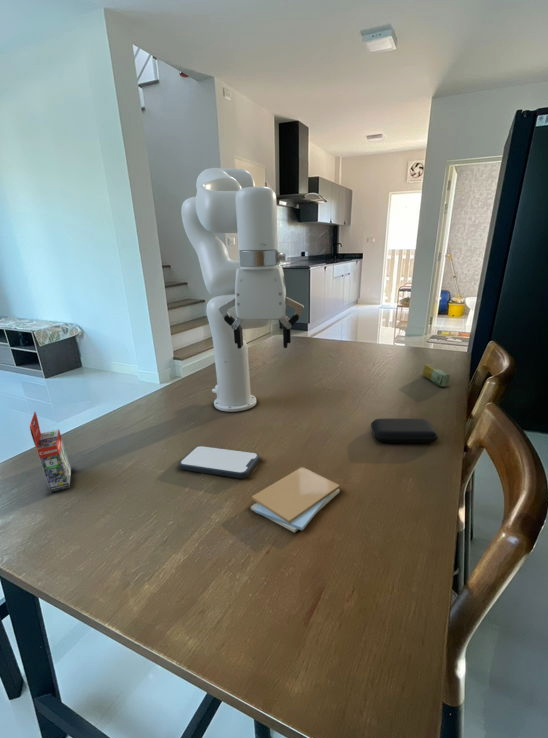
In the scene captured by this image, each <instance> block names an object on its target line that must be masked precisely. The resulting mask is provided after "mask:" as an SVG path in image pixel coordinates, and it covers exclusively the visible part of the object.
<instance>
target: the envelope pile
mask: <svg viewBox="0 0 548 738" xmlns="http://www.w3.org/2000/svg"><path fill="white" fill-rule="evenodd" d="M340 487H341V485H340V484H338V483H336V482H335V481H332V480H330V479H328V478H326V477H324V476H323V475H320V474H318V473H316V472H313V471H311V470H310V469H308V468H307V467H303V466H301V467H299V468H298V469H296V470H294V471H292V472H291V473H289V474H287V475H286V476H284V477H282V478H281V479H279V480H277V481H275V482H274V483H273V484H271V485H269V486H267V487H266V488H263V489H262V490H260V491H259V492H257V493H255V494H254V495H252V496H251V500H252V501H254V502H255V503H254V504H253V505H250V510H251V511H253V512H254V513H255V514H258V515H261V516H262V517H264V518H266V519H268V520H270V521H272V522H274V523H275V524H278V525H280V526H281V527H283V528H285V529H287V530H288V531H291V532H293V533H294V534H295V533H296V532H298V531H304V529H305V528H306V527H307V526H308V524H309V523H310V522H311V520H312V519H313V518H314V517H315V516H316V515H317V514H318V513H319V512H320V511H321V510H322V509H323V508H324V507H325V506H326V505H327V504H328V503H330V501H331V500H332V499H334V498H335V497H336V496H337V495H338V494H340V492H341V490H340Z"/></svg>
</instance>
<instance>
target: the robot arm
mask: <svg viewBox="0 0 548 738" xmlns="http://www.w3.org/2000/svg"><path fill="white" fill-rule="evenodd" d="M195 187H196V195H195V196H192V197H189V198H187V199H185V200H184V201H183V202H182V204H181V209H180V210H181V213H180V214H181V221H182V226H183V229H184V231H185V234H186V236H187V238H188V241H189V243H190V244H191V246H192V248H193V249H194V251H195V253H196V255H197V258H198V262H199V266H200V270H201V274H202V279H203V282H204V285H205V288H206V291H207V292H208V293H209V295H211V296H214V297H212V298H211V299H209V301H208V302H207V304H206V308H205V311H206V317H207V321H208V324H209V330H210V333H211V339H212V345H213V354H214V365H215V375H216V384H215V386H214V388H212V389H211V393H213V394H216V398H215V399H214V400H213V406H214V408H215V409H217V410H218V411H221V412H227V413H234V412H235V413H236V412H244V411H246V410H249V409H252V408H254V406H256V405H257V398H256V396H255V395H254V394H252V393H251V379H250V378H251V377H250V366H249V365H250V363H249V349H248V344H247V342H246V340H245V339H244V335H243V334H244V333H243V330H250V329H258V328H259V329H261V328H264V327H266V326H268V325H269V323H270V322H271V321H277V320H278V321H279V322H280V323H281V324H282V325H283V328H282V341H283V348H284V349H288V345H289V344H291V343H292V333H291V332H292V331H291V330H292V329H291V328H292V327H293V326H294V325H295V324H296V323H297V322H298V321H299V319H300V317H301V315H302V313H303V311H304V308H305V306H304V305H303V304H301V303H299V302H298V301H296V300H294V299H292V298H290V297H288V296H287V289H286V280H285V273H284V268H283V267H281V266H279V264H280V263H281V262H285V261H286V253H282V252H280V251H279V246H278V245H279V242H278V211H277V210H278V207H277V205H278V203H277V195H276V193H275V191H274V190H273V189H272V188H270V187H267V186H256V182H255V179H254V177H253V175H252V174H251V173H250V172H249V171H248V170H246V169H243V168H229V167H228V168H225V167H210V168H206V169H204V170H203V171H201V172H200V173H199V175H198V176H197V179H196V184H195ZM216 234H237V243H238V246H237V247H238V259H231V258H230V255H229V252H228V249H227V246H226V244H225V243H224V242H223V240H221V239H220V238H219V237H218V236H217V235H216ZM287 307H291V308H292V309H294V310H295V312H294V314H293V315H292V316H291V317H290V318H289V317H288V316H287V315H286V314H287V309H288V308H287Z"/></svg>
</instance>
